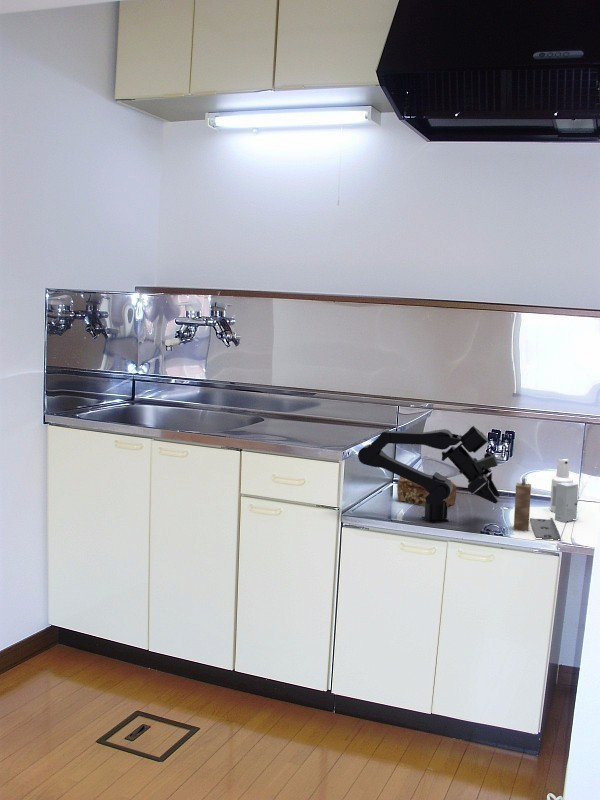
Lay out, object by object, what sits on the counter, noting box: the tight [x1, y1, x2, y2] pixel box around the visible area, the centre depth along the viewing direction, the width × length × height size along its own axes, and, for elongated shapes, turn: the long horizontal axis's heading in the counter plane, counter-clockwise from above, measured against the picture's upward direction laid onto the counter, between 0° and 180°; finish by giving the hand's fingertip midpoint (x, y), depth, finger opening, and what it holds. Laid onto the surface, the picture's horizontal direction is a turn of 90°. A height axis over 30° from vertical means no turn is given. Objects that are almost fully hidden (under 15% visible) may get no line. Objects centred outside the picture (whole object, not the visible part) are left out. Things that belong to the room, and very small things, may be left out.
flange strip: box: [529, 517, 561, 541], centre depth 259 cm, size 22×7×1 cm, turn 169°
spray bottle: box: [549, 458, 574, 513], centre depth 283 cm, size 7×7×18 cm
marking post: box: [513, 478, 532, 532], centre depth 259 cm, size 4×4×16 cm
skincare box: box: [554, 482, 579, 523], centre depth 272 cm, size 6×4×12 cm
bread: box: [396, 476, 457, 507], centre depth 292 cm, size 19×11×10 cm, turn 56°
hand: (497, 499), depth 262 cm, fingers open, 9 cm apart
